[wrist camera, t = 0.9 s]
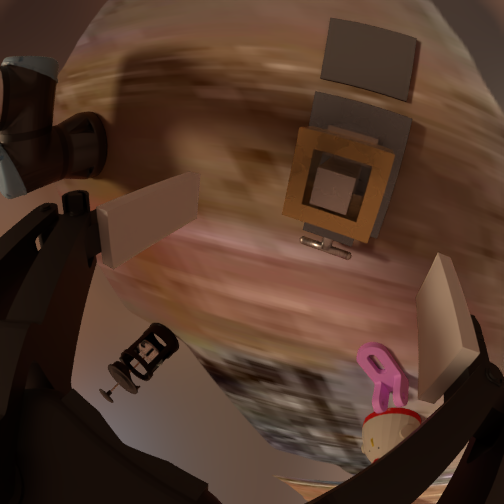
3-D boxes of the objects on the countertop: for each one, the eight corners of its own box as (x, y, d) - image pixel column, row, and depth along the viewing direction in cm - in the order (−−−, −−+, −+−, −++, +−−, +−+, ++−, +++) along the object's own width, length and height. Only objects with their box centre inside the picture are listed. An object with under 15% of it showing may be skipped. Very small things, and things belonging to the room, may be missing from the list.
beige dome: (396, 399, 47) (387, 462, 35) (432, 422, 45) (426, 479, 33) (352, 422, 55) (335, 476, 43) (388, 442, 54) (376, 492, 41)
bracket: (408, 380, 44) (406, 409, 38) (384, 388, 47) (379, 417, 41) (379, 337, 43) (375, 367, 37) (352, 348, 46) (344, 377, 41)
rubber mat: (321, 78, 30) (320, 78, 30) (331, 19, 26) (330, 17, 25) (406, 101, 27) (406, 101, 27) (415, 39, 23) (416, 38, 22)
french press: (171, 324, 64) (106, 389, 46) (186, 354, 68) (130, 418, 49) (141, 320, 70) (80, 374, 51) (155, 347, 73) (101, 402, 55)
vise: (291, 224, 41) (242, 280, 28) (318, 92, 31) (276, 74, 18) (370, 251, 38) (358, 324, 25) (410, 119, 28) (434, 116, 15)
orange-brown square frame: (297, 200, 30) (282, 214, 26) (312, 126, 26) (299, 127, 22) (369, 224, 27) (367, 243, 23) (391, 149, 23) (395, 154, 19)
